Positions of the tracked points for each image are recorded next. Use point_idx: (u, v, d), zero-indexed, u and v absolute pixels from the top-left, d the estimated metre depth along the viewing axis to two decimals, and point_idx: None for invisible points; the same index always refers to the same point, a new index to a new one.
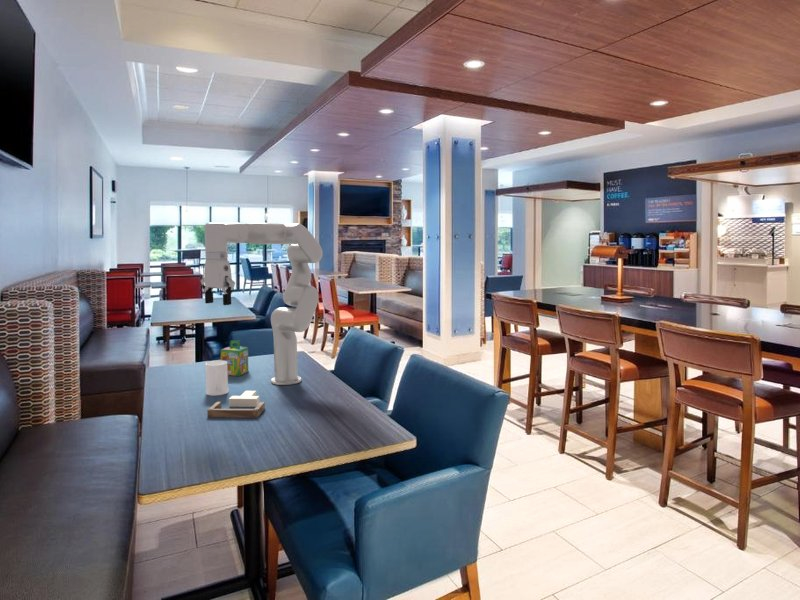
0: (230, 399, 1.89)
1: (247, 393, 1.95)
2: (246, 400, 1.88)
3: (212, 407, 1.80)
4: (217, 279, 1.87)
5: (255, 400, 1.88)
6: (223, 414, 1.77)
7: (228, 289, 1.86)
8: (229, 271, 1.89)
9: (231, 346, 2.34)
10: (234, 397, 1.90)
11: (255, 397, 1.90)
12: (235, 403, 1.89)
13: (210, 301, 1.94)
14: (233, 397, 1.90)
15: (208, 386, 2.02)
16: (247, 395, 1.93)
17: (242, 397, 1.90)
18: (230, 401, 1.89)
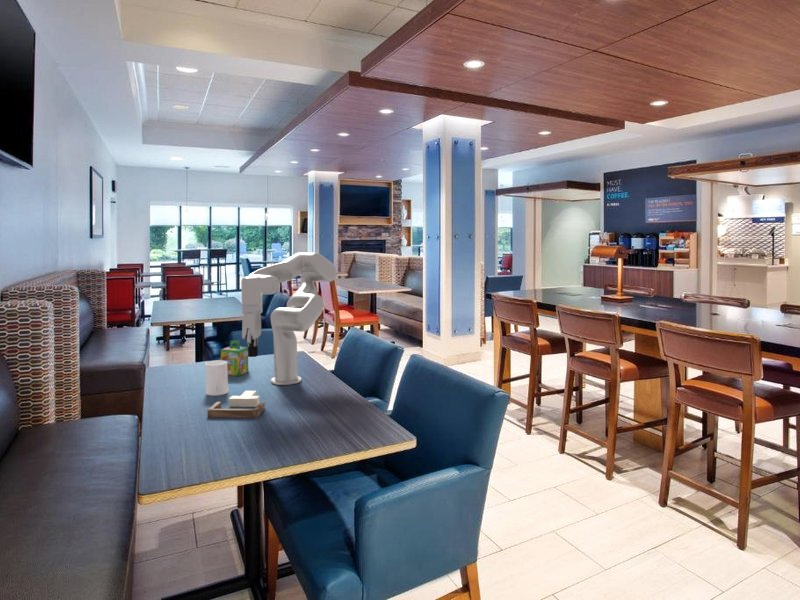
0: (230, 399, 1.89)
1: (247, 393, 1.95)
2: (246, 400, 1.88)
3: (212, 407, 1.80)
4: (260, 328, 2.03)
5: (255, 400, 1.88)
6: (223, 414, 1.77)
7: None
8: None
9: (231, 346, 2.34)
10: (234, 397, 1.90)
11: (255, 397, 1.90)
12: (235, 403, 1.89)
13: None
14: (233, 397, 1.90)
15: (208, 386, 2.02)
16: (247, 395, 1.93)
17: (242, 397, 1.90)
18: (230, 401, 1.89)
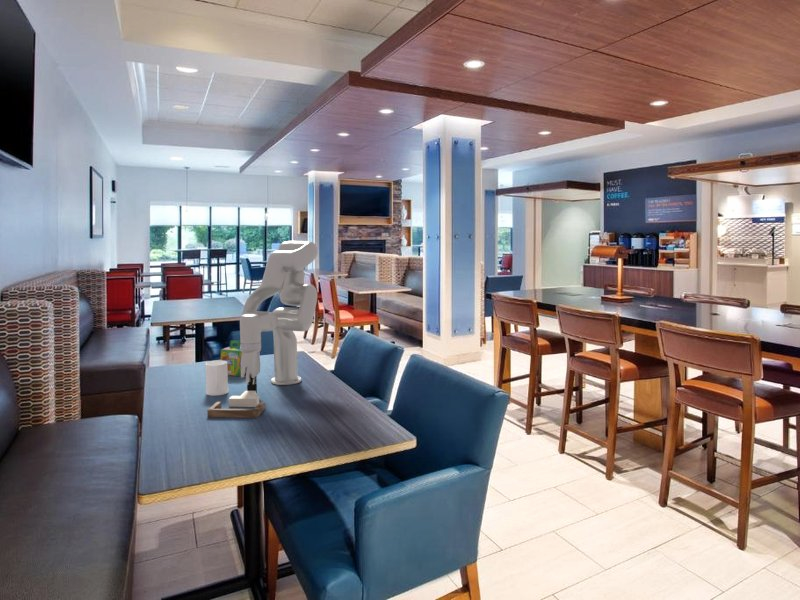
0: (230, 399, 1.88)
1: (247, 393, 1.94)
2: (246, 400, 1.88)
3: (212, 407, 1.80)
4: (259, 365, 2.02)
5: (255, 400, 1.88)
6: (223, 414, 1.77)
7: None
8: None
9: (231, 346, 2.34)
10: (234, 397, 1.90)
11: (255, 397, 1.90)
12: (235, 403, 1.88)
13: None
14: (233, 397, 1.89)
15: (208, 386, 2.02)
16: (247, 395, 1.93)
17: (242, 397, 1.90)
18: (230, 401, 1.88)
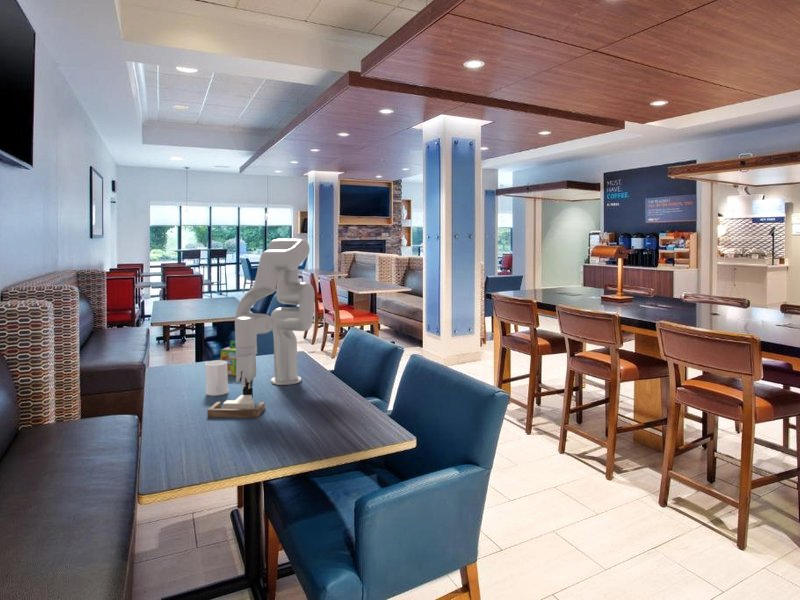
0: (224, 404, 1.83)
1: (242, 398, 1.89)
2: (241, 405, 1.83)
3: (212, 407, 1.80)
4: (255, 369, 1.96)
5: (250, 405, 1.83)
6: (223, 414, 1.77)
7: None
8: None
9: (231, 346, 2.34)
10: (228, 402, 1.84)
11: (250, 402, 1.84)
12: (229, 408, 1.83)
13: None
14: (227, 402, 1.84)
15: (208, 386, 2.02)
16: (242, 399, 1.87)
17: (237, 401, 1.85)
18: (224, 406, 1.83)
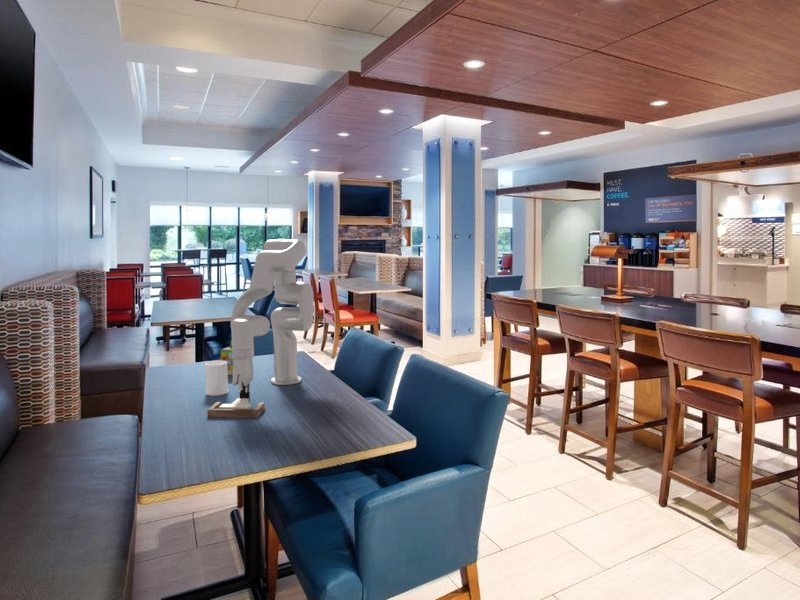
0: (220, 407, 1.79)
1: (238, 401, 1.85)
2: None
3: (212, 407, 1.80)
4: (252, 372, 1.92)
5: None
6: (223, 414, 1.77)
7: None
8: None
9: (231, 346, 2.34)
10: (224, 405, 1.80)
11: (246, 405, 1.80)
12: None
13: None
14: (224, 405, 1.80)
15: (208, 386, 2.02)
16: (238, 403, 1.83)
17: (233, 405, 1.81)
18: None
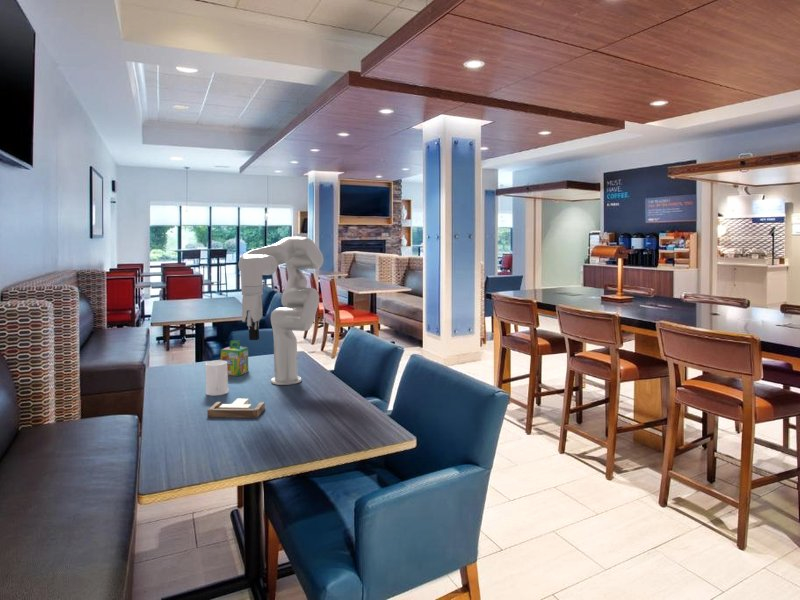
0: (220, 408, 1.79)
1: (238, 401, 1.85)
2: None
3: (212, 407, 1.80)
4: (261, 310, 1.95)
5: None
6: (223, 414, 1.77)
7: None
8: None
9: (231, 346, 2.34)
10: (224, 405, 1.80)
11: (246, 406, 1.80)
12: None
13: None
14: (224, 406, 1.80)
15: (208, 386, 2.02)
16: (238, 403, 1.83)
17: (233, 405, 1.81)
18: None
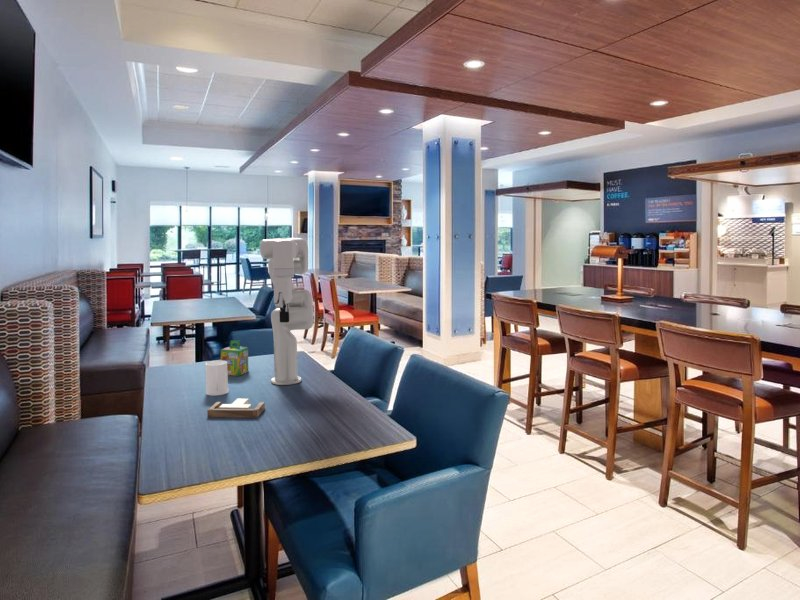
0: (220, 408, 1.79)
1: (238, 401, 1.85)
2: None
3: (212, 407, 1.80)
4: (291, 293, 1.98)
5: None
6: (223, 414, 1.77)
7: None
8: None
9: (231, 346, 2.34)
10: (224, 405, 1.80)
11: (246, 406, 1.80)
12: None
13: None
14: (224, 406, 1.80)
15: (208, 386, 2.02)
16: (238, 403, 1.83)
17: (233, 405, 1.81)
18: None
